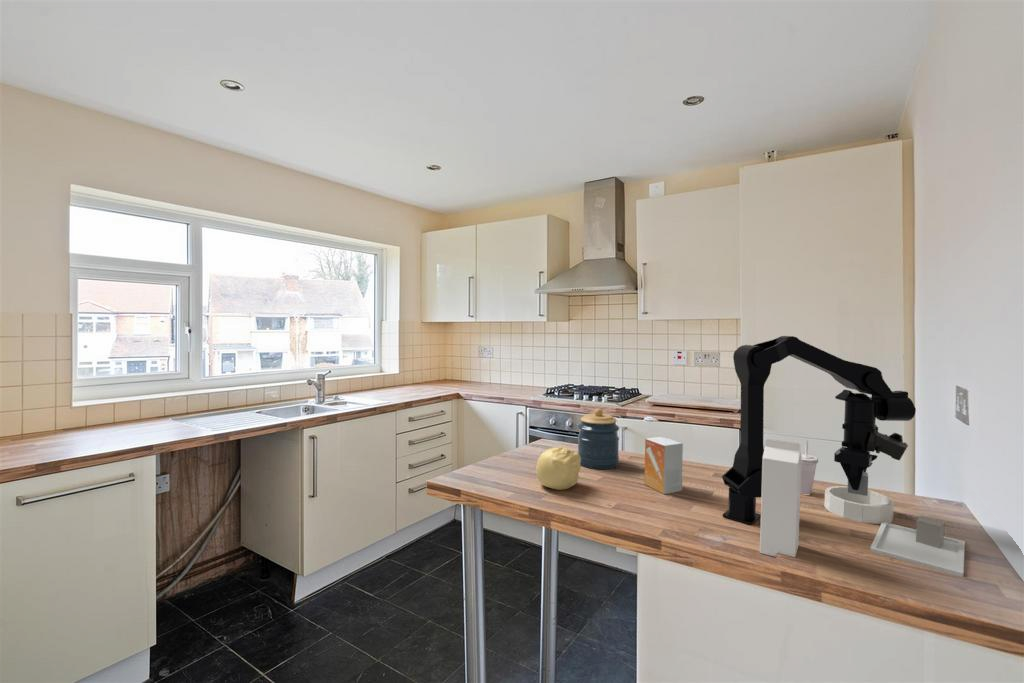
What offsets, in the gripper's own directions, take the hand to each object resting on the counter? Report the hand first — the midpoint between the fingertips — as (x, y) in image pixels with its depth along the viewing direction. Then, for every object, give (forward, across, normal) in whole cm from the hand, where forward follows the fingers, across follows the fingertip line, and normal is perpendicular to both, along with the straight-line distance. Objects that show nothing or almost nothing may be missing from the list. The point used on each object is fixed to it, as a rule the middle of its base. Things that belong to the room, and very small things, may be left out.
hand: (857, 487), depth 108 cm
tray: (+7, -11, -12) cm, 18 cm away
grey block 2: (+6, -7, -13) cm, 16 cm away
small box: (+8, -13, +41) cm, 44 cm away
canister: (+8, -7, +66) cm, 67 cm away
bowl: (+7, +2, 0) cm, 7 cm away
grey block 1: (+1, 0, 0) cm, 1 cm away
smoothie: (+7, +10, +13) cm, 18 cm away
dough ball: (+8, -32, +62) cm, 70 cm away
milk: (+8, -30, +8) cm, 32 cm away
